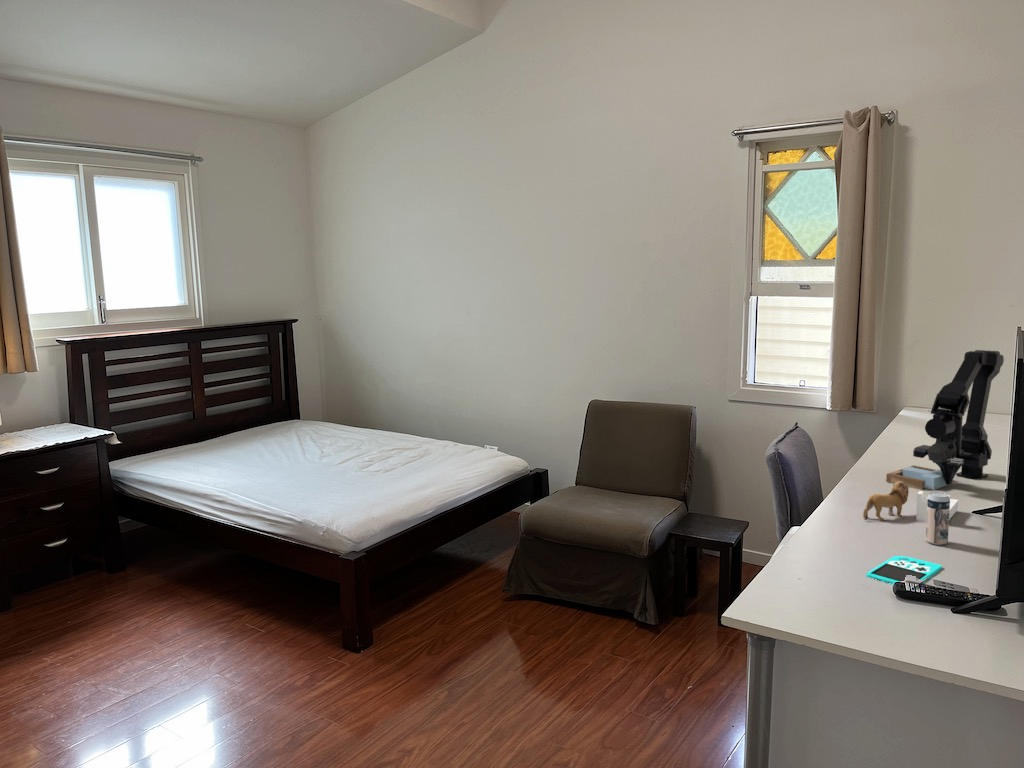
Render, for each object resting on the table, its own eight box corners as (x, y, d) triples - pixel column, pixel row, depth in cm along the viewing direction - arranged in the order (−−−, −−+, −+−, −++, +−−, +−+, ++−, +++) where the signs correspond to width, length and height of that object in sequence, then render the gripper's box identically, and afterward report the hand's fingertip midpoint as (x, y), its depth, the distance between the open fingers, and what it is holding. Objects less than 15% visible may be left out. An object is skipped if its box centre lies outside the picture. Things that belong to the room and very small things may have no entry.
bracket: (946, 526, 192) (947, 498, 191) (916, 521, 196) (917, 493, 195) (957, 512, 201) (959, 485, 200) (928, 508, 206) (929, 481, 205)
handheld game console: (943, 570, 166) (943, 564, 166) (913, 592, 156) (913, 586, 156) (896, 558, 174) (897, 553, 174) (864, 579, 164) (865, 573, 164)
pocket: (913, 472, 238) (913, 465, 238) (948, 480, 229) (949, 472, 228) (886, 481, 230) (886, 474, 230) (922, 489, 221) (922, 481, 220)
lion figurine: (896, 510, 205) (897, 478, 203) (913, 515, 200) (914, 483, 199) (856, 519, 199) (857, 486, 198) (873, 525, 194) (874, 491, 193)
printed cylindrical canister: (939, 547, 178) (942, 499, 176) (920, 541, 182) (923, 493, 180) (952, 543, 180) (954, 495, 178) (933, 537, 184) (935, 490, 182)
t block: (914, 475, 235) (915, 465, 234) (951, 483, 226) (951, 472, 225) (897, 482, 229) (897, 471, 229) (933, 490, 220) (934, 478, 220)
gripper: (903, 431, 223) (902, 482, 225) (970, 442, 207) (967, 496, 209) (924, 426, 229) (922, 476, 231) (990, 436, 213) (987, 489, 215)
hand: (948, 484), depth 222 cm, fingers closed
